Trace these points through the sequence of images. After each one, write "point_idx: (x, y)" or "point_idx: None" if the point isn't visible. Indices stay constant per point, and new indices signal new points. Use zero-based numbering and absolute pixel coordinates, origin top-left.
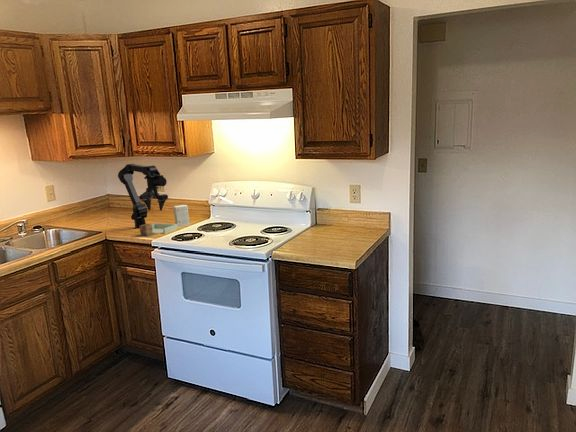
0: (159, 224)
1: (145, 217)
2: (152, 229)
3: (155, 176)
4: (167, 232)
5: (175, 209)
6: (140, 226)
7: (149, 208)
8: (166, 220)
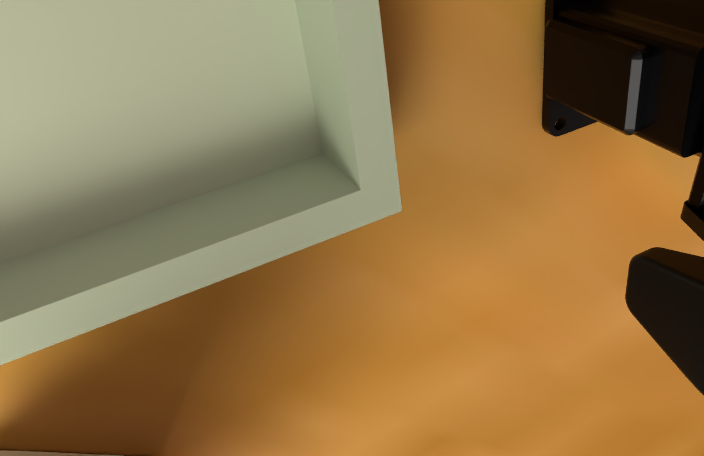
0: (235, 226)
1: (691, 190)
2: (253, 28)
3: None
4: None
5: None
6: None
7: (689, 319)
8: (544, 450)
